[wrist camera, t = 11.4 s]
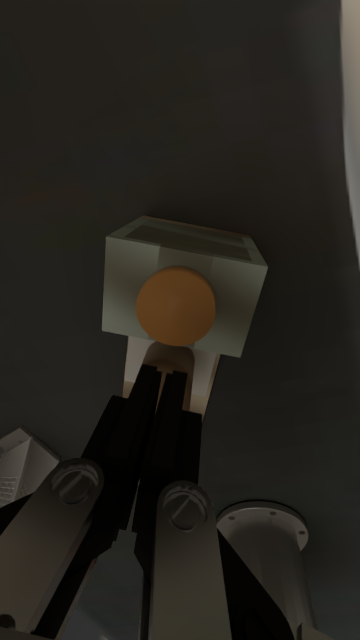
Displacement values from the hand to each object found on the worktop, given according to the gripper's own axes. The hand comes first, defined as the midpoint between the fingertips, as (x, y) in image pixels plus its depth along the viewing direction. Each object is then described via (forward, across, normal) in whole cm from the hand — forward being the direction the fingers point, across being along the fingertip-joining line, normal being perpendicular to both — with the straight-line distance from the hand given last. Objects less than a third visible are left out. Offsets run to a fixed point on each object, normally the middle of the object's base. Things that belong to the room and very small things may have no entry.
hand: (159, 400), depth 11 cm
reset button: (+9, 0, -1) cm, 10 cm away
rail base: (+18, +1, +9) cm, 20 cm away
